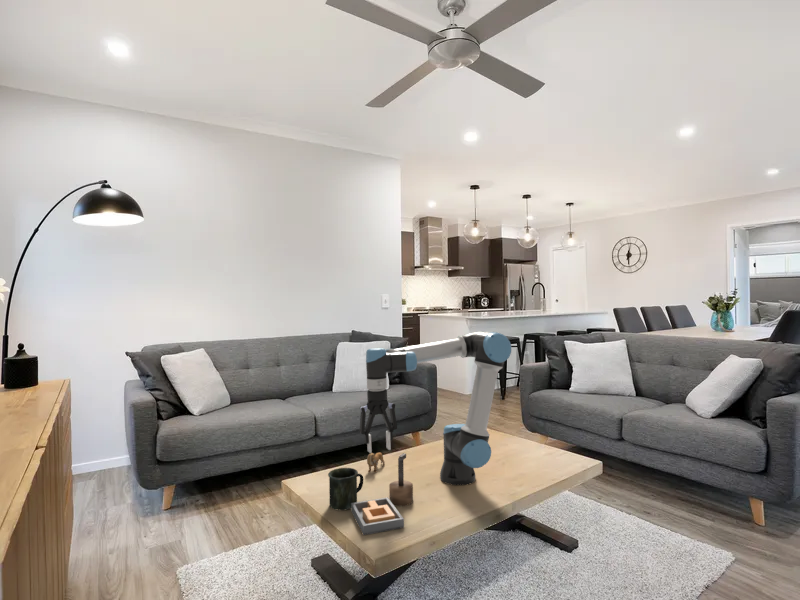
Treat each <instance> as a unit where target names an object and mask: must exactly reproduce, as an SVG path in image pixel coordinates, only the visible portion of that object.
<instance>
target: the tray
mask: <svg viewBox="0 0 800 600" xmlns="http://www.w3.org/2000/svg"><path fill="white" fill-rule="evenodd" d="M372 500H375V502H376V503H377V505H378V506H381V505H388V507H389V508H390V509H391V511H392V512H393V514H394V515H395V519H391V520H386V521H380V522H374V523H369V524H366V522H365V521H364V519H363V513H362V508H368V501H372ZM350 512H351V514H352V516H353V517H354V520H355V519H356V520H355V522H356V521H357V522H356V524H357V523H358V524H357V526H358V525H359V526H358V528H359V527H360V528H359V530H360V529H361V530H360V532H361V531H362V532H361V533H363V534H362V535H363V536H367V535H368V536H369V535H372V534H378V533H382V532H389V531H394V530H400V529H404V528H405V519H404V517H403V515H402V514H401V513H400V512H399V510H398V509H397V508H396V505H393V504H392V502H391V501H390V499H389V497H381V498H375V499H370V500H363V501H357V502H355V503H351V509H350Z"/></svg>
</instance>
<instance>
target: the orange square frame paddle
mask: <svg viewBox="0 0 800 600" xmlns="http://www.w3.org/2000/svg"><path fill="white" fill-rule="evenodd" d="M371 500H372V501H368V500H367V501H368V508H362V513H363V519H364V521H365V522H366V524H369V523H374V522H380V521H386V520H391V519H395V515H394V514H393V512H392V511H391V509H390V508H389V507H388V505H381V506H378V505H377V503H376V502H375V500H374V499H371Z"/></svg>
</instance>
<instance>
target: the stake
mask: <svg viewBox="0 0 800 600" xmlns="http://www.w3.org/2000/svg"><path fill="white" fill-rule="evenodd" d="M406 458H407V453H402V454H400V455H399V456H398V459H397V460H398V461H397V466H398V467H397V469H398V471H397V472H398V474H397V475H398V476H397V477H398V480H393V481H392V482H390V483H389V485H388V487H389V490H388V491H389V493H388V494H389V497H388V498H389V500H390V501H391V502H392V504H393V505H394V506H395V507H396V506H398V507H405V506H410V505H411V504H412V503H413V502H414V487H413V486H414V485H413V483H412V482H411V481H408V480H405V479H404V478H405V476H404V475H405V474H404V460H405V459H406Z"/></svg>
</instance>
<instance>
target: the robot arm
mask: <svg viewBox="0 0 800 600" xmlns="http://www.w3.org/2000/svg"><path fill="white" fill-rule="evenodd" d="M511 353H512V345H511V341H510V339H509V338H508V336H506V335H504V334H502V333H500V332H497V331H485V330H481V331H475V332H471V333H467V334H462V335H458V336H457V338H453V339H447V340H441V341H434V342H428V343H423V344H415V345H410V346H409V345H408V346H404V347H399V348H397V347H396V348H387V349H386V348H384V347H376V348H375V347H373V348H372V347H371V348H368V349H367V350H366V353H365V366H366V369H365V370H366V389H368V390H366V391H367V393H366V397H367V399H366V400H367V403H366V405H364V406H361V405H360V406H359V411H360V418H359V419H360V420H359V433H360V434H361V435H363V436H364V442H365V444H366V445H367V446H366V447H367V452H368V453H369V454H370V453H373V452H372V451H373V449H372V434H370V431H371V429H372V426H373V422H374V418H375V417H376V416H378V415H381V416H382V418H383V421H384V423H385V426H386V429H387V430H386V431H385V442H386V445H385V446H386V449H387V450H389V451H391V449H392V448H391V442H392V440H393V437H394V436H393V432H394V431H395V430H397V429H398V426H397V417H396V403H394V402H389V401H388V390H387V387H388V380H387V374H389V373H390V374H391V373H399V372H400V373H401V372H406V373H407V372H413V371H416V369H417V366H418V364H421V363H427V362H433V361H439V360H444V359H448V358H449V359H450V358H455V357H460V358H463V359H464V358H474V360H473V361H474V364H475V366H476V372H475V376H474V380H473V385H472V389H471V395H470V400H469V406H468V411H467V414H466V415H467V416H466V421H465V423H455V424H454V423H452V424H447V425H445V426H444V428H443V434H442V435H443V463H442V466H441V469H440V473H439V479H440V481H441V482H443V483H445V484H447V485H451V484H452V486H466V485H467V484H468V485H471V484H473V483H474V482H476V472H475V469H479V468H481V467H483V466H484V465H487V463H488V462H489V461H490V459H491V457H492V448H491V445H490V443H489V439H490V433H489V432H488V424H489V419H490V413H491V409H492V403H493V399H494V393H495V388H496V384H497V378H498V373H499V371H500V370H502V369H503V368H504V364H505V362H506V361H507V360H508V359H509V358H510V356H511V355H512V354H511ZM387 408H388V409H389V415H390V419H389V416H388V414H387V411H386V410H387ZM367 409H368V410H367ZM367 411H369V413H368V418H367V422H366V417H367V416H366V412H367ZM470 483H471V484H470Z"/></svg>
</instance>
